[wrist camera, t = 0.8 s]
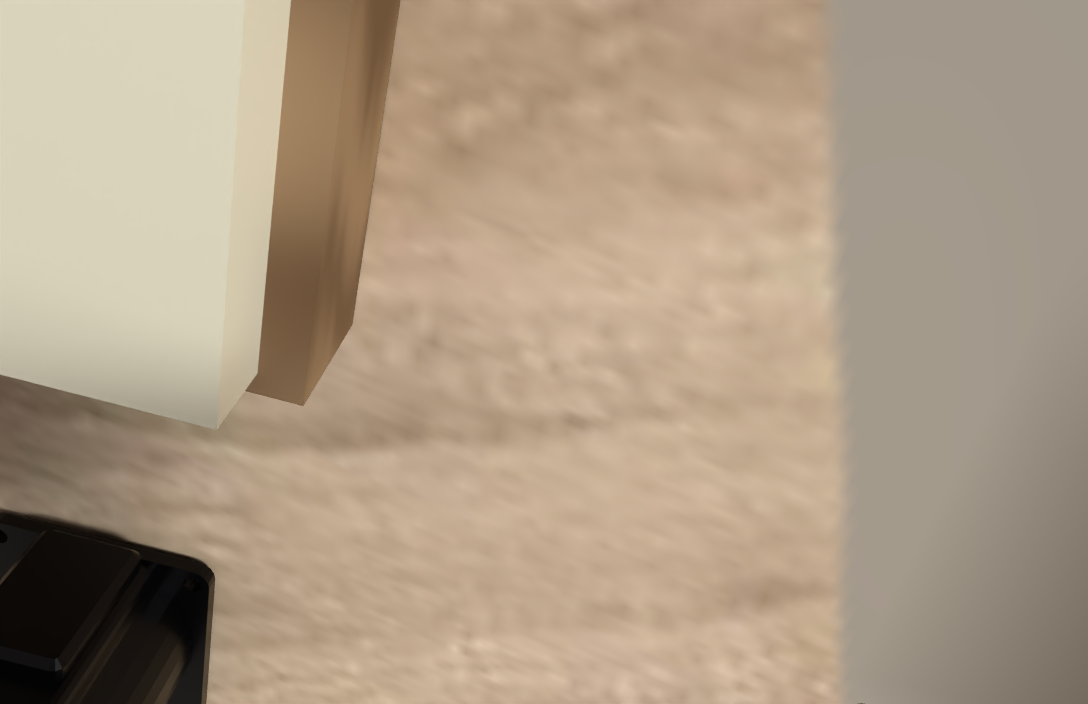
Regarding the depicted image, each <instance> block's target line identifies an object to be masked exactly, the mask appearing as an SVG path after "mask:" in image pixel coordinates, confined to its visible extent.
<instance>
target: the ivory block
mask: <svg viewBox="0 0 1088 704" xmlns="http://www.w3.org/2000/svg"><path fill="white" fill-rule="evenodd" d="M290 6H291V0H0V375H4V376H8V377H12V378H16V379H20V380H24V381H28V382H31V383H35V384H39V385H43V386H47V387H51V388H55V389H59V390H63V391H66V392H70V393H74V394H78V395H82V396H86V397H90V398H94V399H98V400H101V401H105V402H109V403H113V404H117V405H121V406H125V407H129V408H132V409H136V410H140V411H144V412H148V413H152V414H156V415H160V416H164V417H167V418H171V419H175V420H179V421H183V422H187V423H191V424H195V425H199V426H202V427H206V428H210V429H214V430H217V429H218V428H219V426H220V425H221V424H222V422H223V421H224V419H225V418H226V417H227V415H228V414H229V412H230V411H231V410H232V408H233V407H234V405H235V404H236V403H237V401H238V400H239V398H240V397H241V396H242V394H243V393H244V391H245V390H246V389H247V387H248V386H249V384H250V383H251V382H252V380H253V379H254V378H255V376H256V375H257V372H258V361H259V350H260V339H261V328H262V317H263V306H264V294H265V283H266V272H267V261H268V250H269V239H270V228H271V217H272V206H273V195H274V183H275V172H276V161H277V150H278V139H279V128H280V117H281V106H282V95H283V83H284V72H285V61H286V50H287V39H288V28H289V17H290Z"/></svg>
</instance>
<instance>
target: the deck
mask: <svg viewBox="0 0 1088 704" xmlns="http://www.w3.org/2000/svg"><path fill="white" fill-rule="evenodd" d="M399 5H400V0H291V6H290V17H289V28H288V39H287V50H286V61H285V72H284V83H283V95H282V106H281V117H280V128H279V139H278V150H277V161H276V172H275V183H274V195H273V206H272V217H271V228H270V239H269V250H268V261H267V272H266V283H265V294H264V306H263V317H262V328H261V339H260V350H259V361H258V372H257V375H256V376H255V378H254V379H253V380H252V382H251V383H250V384H249V386H248V387H247V389H246V390H245V391H248V392H251V393H255V394H259V395H263V396H267V397H271V398H275V399H278V400H282V401H286V402H290V403H294V404H298V405H302V406H304V404H305V402H306V401H307V399H308V397H309V396H310V394H311V392H312V391H313V389H314V387H315V386H316V384H317V382H318V381H319V379H320V377H321V376H322V374H323V372H324V371H325V369H326V367H327V366H328V364H329V362H330V361H331V359H332V357H333V356H334V354H335V353H336V351H337V349H338V348H339V346H340V344H341V343H342V341H343V339H344V338H345V336H346V334H347V333H348V331H349V329H350V328H351V326H352V323H353V316H354V310H355V303H356V296H357V289H358V283H359V276H360V269H361V262H362V255H363V249H364V242H365V235H366V228H367V222H368V215H369V208H370V201H371V195H372V188H373V181H374V174H375V168H376V161H377V154H378V147H379V141H380V134H381V127H382V120H383V114H384V107H385V100H386V93H387V86H388V80H389V73H390V66H391V59H392V53H393V46H394V39H395V32H396V26H397V19H398V12H399Z"/></svg>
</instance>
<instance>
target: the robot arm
mask: <svg viewBox="0 0 1088 704" xmlns="http://www.w3.org/2000/svg"><path fill="white" fill-rule="evenodd" d="M192 578H193V579H192ZM194 579H195V580H194ZM196 580H197V581H196ZM214 587H215V576H214V573H213V572H212V570H211V569H210V568H209V567H207V566H206V565H205V564H202V563H200V562H196V561H192V560H188V559H184V558H180V557H176V556H173V555H169V554H165V553H161V552H157V551H153V550H149V549H145V548H141V547H137V546H133V545H129V544H125V543H121V542H117V541H114V540H110V539H106V538H102V537H98V536H94V535H90V534H86V533H82V532H78V531H74V530H70V529H66V528H62V527H58V526H54V525H51V524H47V523H43V522H39V521H35V520H31V519H27V518H23V517H19V516H15V515H11V514H7V513H0V704H206V699H207V685H208V671H209V657H210V643H211V629H212V615H213V601H214ZM860 704H863V703H860Z"/></svg>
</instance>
